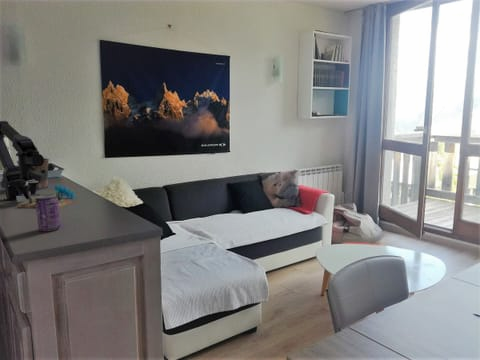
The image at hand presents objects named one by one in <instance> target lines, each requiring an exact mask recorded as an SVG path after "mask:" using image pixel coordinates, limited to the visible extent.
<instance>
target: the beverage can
mask: <svg viewBox="0 0 480 360" xmlns="http://www.w3.org/2000/svg"><path fill="white" fill-rule="evenodd" d="M46 194H47V195H40V196H37V197H36V198H37V199H36V202H35V204H36V208H35V212H36V218H37V226H38V231H42V232H46V231H47V232H54V231H56V230H58V229H59V228H61V227H62V223H61V222H62V221H61V216H60V214H61V213H60V208H59V205H58V197H57V198H56V196H57V195H56V193H49V194H48V193H46Z"/></svg>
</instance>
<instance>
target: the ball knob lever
mask: <svg viewBox="0 0 480 360" xmlns="http://www.w3.org/2000/svg"><path fill="white" fill-rule="evenodd" d="M38 194H39V193H36V194H31V193H29V197H30V196H32V200H33V199H37V198H36V197H37V196H38ZM40 194H41V193H40ZM47 194H48V193H43V194H41V195H47ZM16 198H17V200H16V203H23V202H27V201H29V199H26V198H25V196H24V195H23V194H22V195H18V196H16Z"/></svg>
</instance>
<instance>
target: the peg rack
mask: <svg viewBox="0 0 480 360" xmlns="http://www.w3.org/2000/svg"><path fill="white" fill-rule="evenodd" d="M37 194H38V196H40V195H41V193H37ZM56 196H58V197H57V199H58V205H59V209H60V208H63V207H64V206H67V205H71V204H72V203H73V198H71V199H69V198H67V199H63V198H62V199H61V196H60V194H57V195H56ZM35 202H36V199H33V200H32V196H30V197H29V201H27V202H19V203H18V204H17V207H18V208H20V209H21V208H24V209H25V208H26V209H27V208H29V209H34V208H35V209H36V204H35Z"/></svg>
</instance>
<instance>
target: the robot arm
mask: <svg viewBox="0 0 480 360" xmlns="http://www.w3.org/2000/svg"><path fill="white" fill-rule="evenodd" d="M5 137H6V138H7V139H8V140H9V141H10V142H11V143H12V144H11V146H12V148H13V149H14V150H15V151H16V152H17V153H15V157H17V158H18V160H17V161H19V166H16V165H15V163H14V160H13V158H12V155H11V154H10V152H9V149H8V147H7V144H6V142H5V140H4V139H5ZM0 163H1V166H2V168H3V171H2V179H1V181H0V187H1V189H5V190H4V191H5V197H6V198H4V199H3V200H4V201H17V198H16V196H18V195H24V196H25V198H26V199H29V194H37V190H38V189H37V186H38V185H39V184H40V183H41V182H40V181H44V180H47V179H46V177H47V176H48V177H49V174H48V175H47V170H45V169H44V170H41V172H40V171H37V170H36V167H33V166H41V165H43V163H44V156H43V155H42V154H40V151H39V149H38V148H37V147H36V144H35V143H34V142H33V140H32V138H30V137H28V136H25V135H22V134H21V133H19V132H18V131H17V130H16V129H15V128H14V127H12V126H11V124H10V123H9V122H8V121H6V120H0ZM28 182H29V183H28ZM36 189H37V190H36Z"/></svg>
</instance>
